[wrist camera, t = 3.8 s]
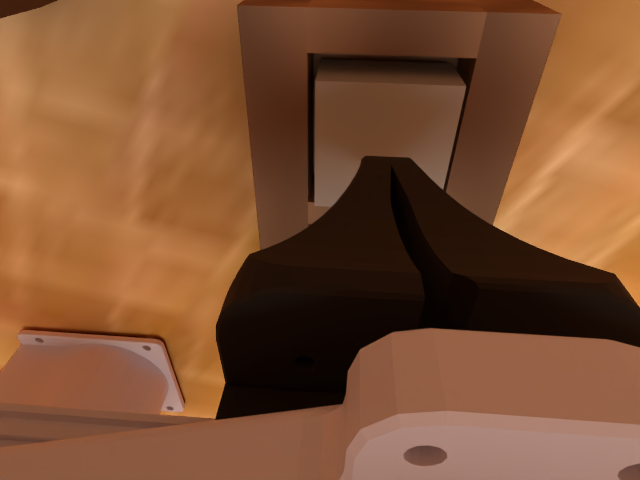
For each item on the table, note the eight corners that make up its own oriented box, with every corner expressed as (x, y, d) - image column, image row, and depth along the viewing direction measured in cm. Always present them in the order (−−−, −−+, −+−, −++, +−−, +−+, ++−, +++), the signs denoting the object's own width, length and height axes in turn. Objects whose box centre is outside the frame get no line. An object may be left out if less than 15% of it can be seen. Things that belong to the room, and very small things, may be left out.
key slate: (319, 173, 17) (314, 205, 15) (321, 59, 14) (314, 80, 12) (429, 178, 17) (438, 212, 15) (451, 63, 14) (466, 86, 12)
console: (286, 405, 30) (279, 447, 28) (257, -10, 14) (237, 5, 12) (411, 415, 30) (415, 458, 27) (526, -3, 14) (561, 14, 11)
